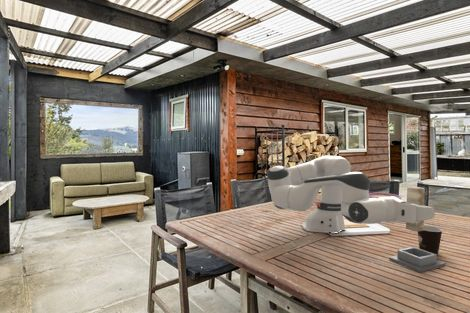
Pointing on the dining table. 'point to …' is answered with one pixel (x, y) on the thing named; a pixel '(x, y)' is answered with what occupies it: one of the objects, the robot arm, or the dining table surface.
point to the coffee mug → (430, 239)
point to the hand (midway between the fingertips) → (417, 205)
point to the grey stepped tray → (417, 259)
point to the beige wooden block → (416, 197)
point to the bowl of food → (382, 195)
